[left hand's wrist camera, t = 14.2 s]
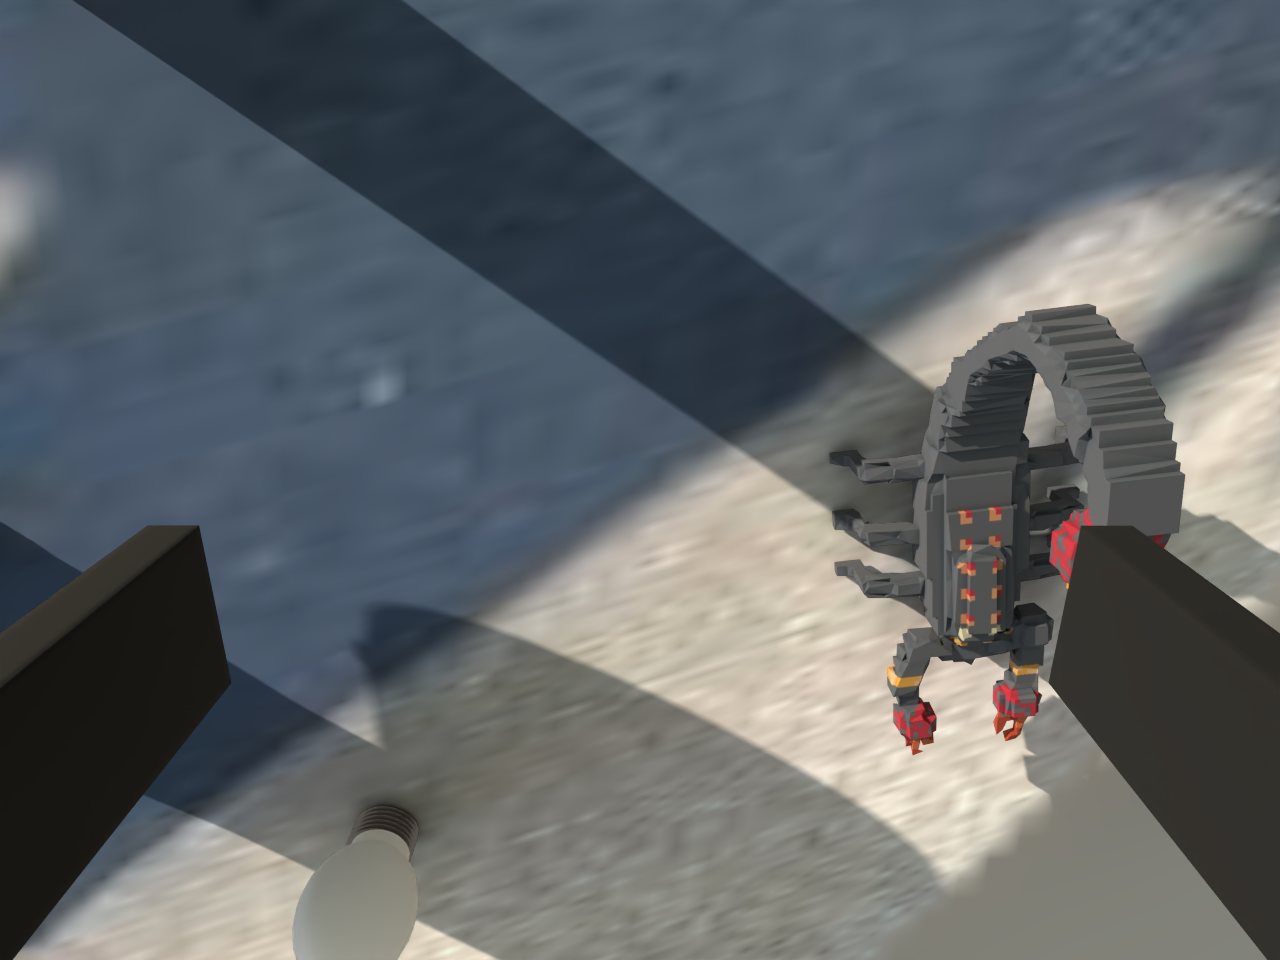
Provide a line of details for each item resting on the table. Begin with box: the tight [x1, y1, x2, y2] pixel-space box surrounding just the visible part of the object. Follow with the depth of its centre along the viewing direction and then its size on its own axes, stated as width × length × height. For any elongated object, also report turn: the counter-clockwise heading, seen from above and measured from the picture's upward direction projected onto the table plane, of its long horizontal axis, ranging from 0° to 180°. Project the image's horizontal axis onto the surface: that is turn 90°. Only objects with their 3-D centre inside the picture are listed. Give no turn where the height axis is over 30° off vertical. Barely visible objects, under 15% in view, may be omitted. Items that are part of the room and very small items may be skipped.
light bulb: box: [292, 806, 419, 960], centre depth 50 cm, size 7×7×11 cm
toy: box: [830, 304, 1185, 755], centre depth 38 cm, size 13×27×18 cm, turn 7°
